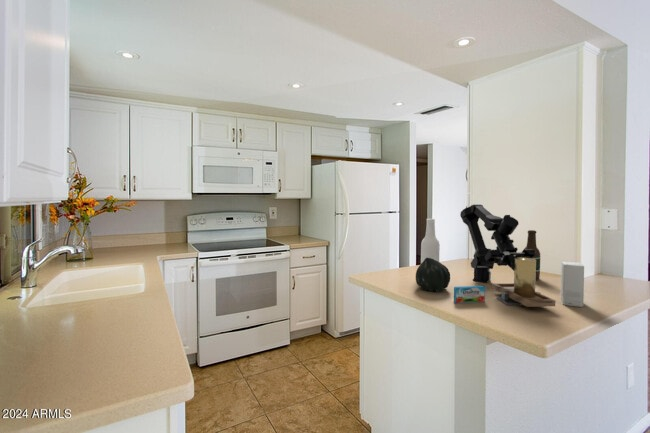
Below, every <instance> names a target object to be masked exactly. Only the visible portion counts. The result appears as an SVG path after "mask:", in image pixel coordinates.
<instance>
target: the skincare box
mask: <svg viewBox="0 0 650 433" xmlns="http://www.w3.org/2000/svg"><path fill="white" fill-rule="evenodd" d="M560 268H561V272H560V273H561V274H560V275H561V279H560V281H561V282H560V283H561V284H560V285H561V287H560V288H561V289H560V300H561V303H562V305H563V306H568V307H569V306H570V307H577V308H578V307H579V308H583V307H584V299H585V298H584V295H585V294H584V291H585V289H584V288H585V287H584V286H585V266H584V264H583V263H582V262H577V261H575V262H574V261H561V267H560Z"/></svg>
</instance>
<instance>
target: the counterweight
mask: <svg viewBox="0 0 650 433" xmlns="http://www.w3.org/2000/svg"><path fill="white" fill-rule="evenodd" d="M513 272H514V274H513V275H514V276H513V283H514V293H515V294H517V295H519V296H521V297H525V298H533V297H535V292H536V280H535V279H536V260H535V259H532V258H521V257H520V258H515V265H514V271H513Z"/></svg>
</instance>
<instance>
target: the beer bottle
mask: <svg viewBox="0 0 650 433" xmlns="http://www.w3.org/2000/svg"><path fill="white" fill-rule="evenodd" d="M536 234H537V230H535V229H534V230H533V229H529V230H528V231H527V241H526V245H525V248H523V250H524V249H533V250H534V251H535V252H536V255H535V257H534V258H533V259H535V260H536V279H535V281H538V280H540V277H541V252H540V250H539V248H538V247H537V235H536Z"/></svg>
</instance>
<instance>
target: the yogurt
mask: <svg viewBox="0 0 650 433" xmlns="http://www.w3.org/2000/svg"><path fill="white" fill-rule="evenodd" d="M484 302H486V287H485V286H483V285H467V286H466V285H465V286H464V285H463V286H453V303H455V304H465V303H466V304H468V303H470V304H471V303H473V304H474V303H484Z"/></svg>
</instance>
